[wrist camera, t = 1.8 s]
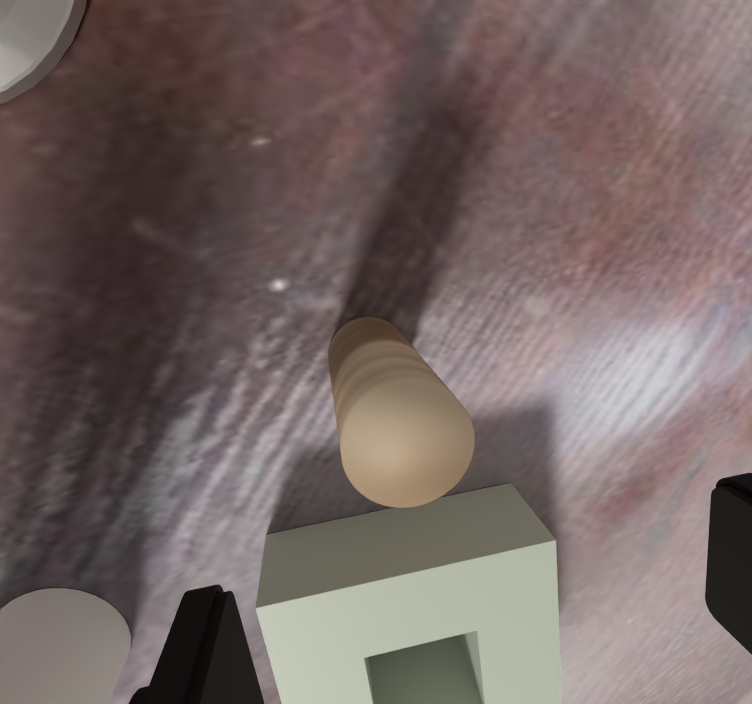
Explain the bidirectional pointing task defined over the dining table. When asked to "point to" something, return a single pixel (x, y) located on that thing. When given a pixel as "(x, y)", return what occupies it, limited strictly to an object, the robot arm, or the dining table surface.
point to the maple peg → (395, 417)
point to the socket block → (416, 605)
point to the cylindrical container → (61, 648)
